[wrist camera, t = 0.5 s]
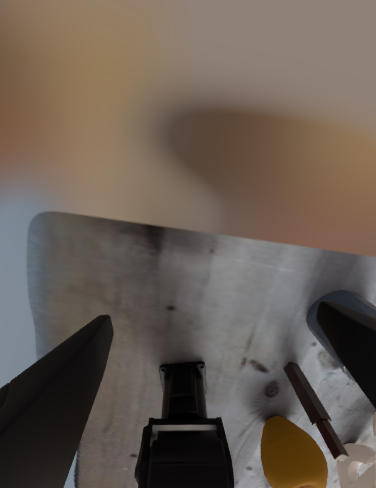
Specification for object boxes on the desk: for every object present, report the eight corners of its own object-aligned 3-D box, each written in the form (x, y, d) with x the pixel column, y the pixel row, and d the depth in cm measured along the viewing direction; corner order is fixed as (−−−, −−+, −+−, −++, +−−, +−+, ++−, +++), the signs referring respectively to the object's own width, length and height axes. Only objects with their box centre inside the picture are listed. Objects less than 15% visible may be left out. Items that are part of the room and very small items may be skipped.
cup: (357, 335, 28) (407, 381, 22) (302, 339, 28) (337, 387, 22) (371, 288, 25) (432, 325, 19) (311, 292, 25) (353, 331, 19)
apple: (312, 407, 33) (358, 488, 25) (288, 438, 36) (321, 521, 27) (263, 398, 32) (293, 480, 23) (242, 432, 35) (262, 515, 26)
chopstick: (298, 364, 29) (353, 455, 20) (291, 371, 30) (342, 463, 20) (289, 361, 29) (341, 452, 20) (283, 368, 30) (330, 460, 20)
